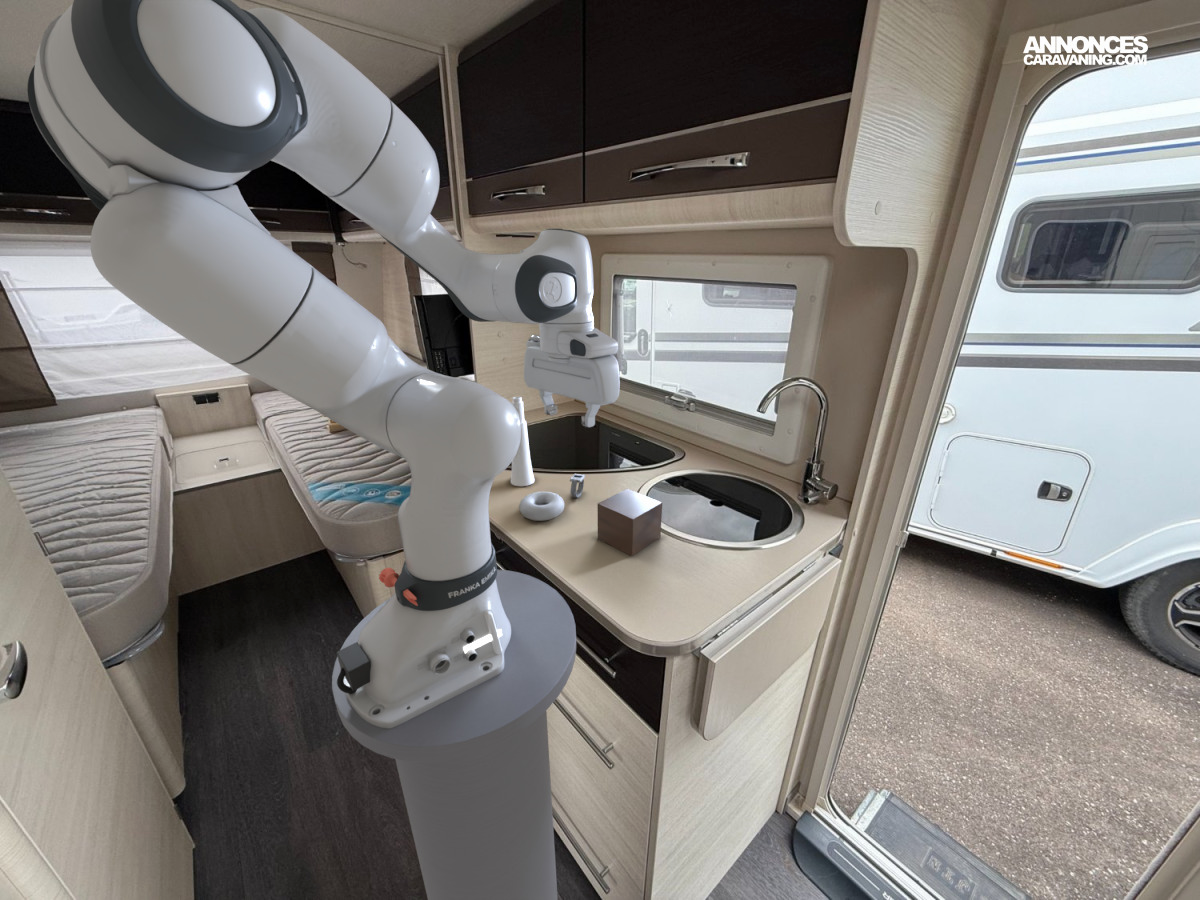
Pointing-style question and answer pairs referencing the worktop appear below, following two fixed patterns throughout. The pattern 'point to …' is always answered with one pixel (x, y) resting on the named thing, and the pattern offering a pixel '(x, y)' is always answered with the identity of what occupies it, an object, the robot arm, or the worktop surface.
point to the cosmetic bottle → (522, 452)
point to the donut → (541, 506)
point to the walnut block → (629, 521)
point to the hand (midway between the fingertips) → (569, 420)
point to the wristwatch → (576, 479)
